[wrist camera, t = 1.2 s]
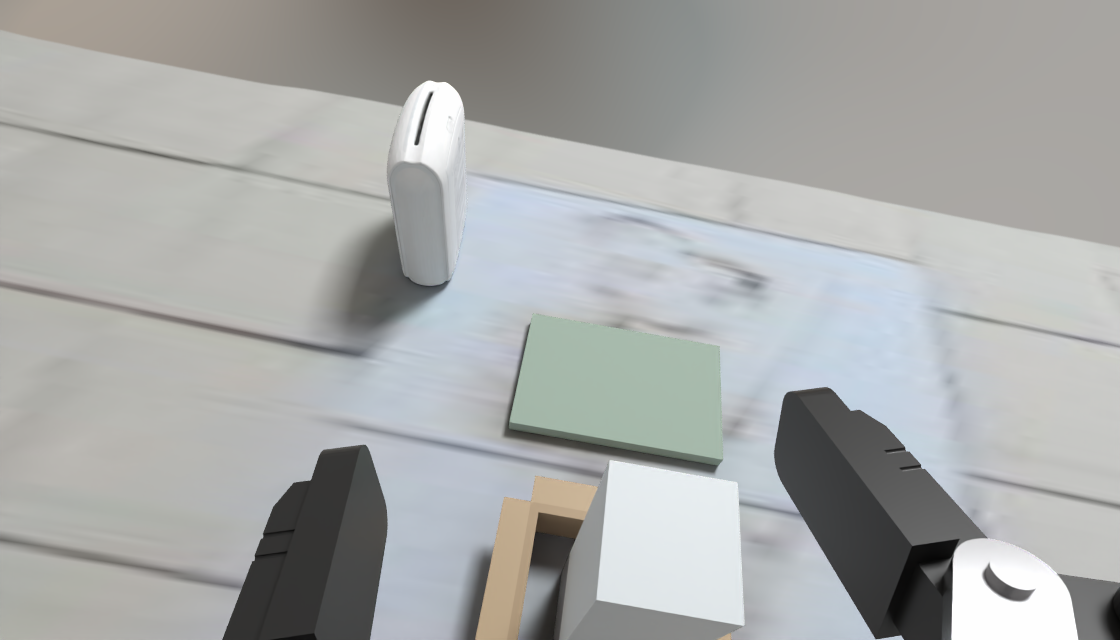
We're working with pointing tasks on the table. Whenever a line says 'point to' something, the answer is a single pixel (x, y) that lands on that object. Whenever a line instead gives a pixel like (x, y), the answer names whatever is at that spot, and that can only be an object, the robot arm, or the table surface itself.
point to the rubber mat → (620, 390)
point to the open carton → (528, 549)
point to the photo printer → (429, 182)
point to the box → (654, 560)
